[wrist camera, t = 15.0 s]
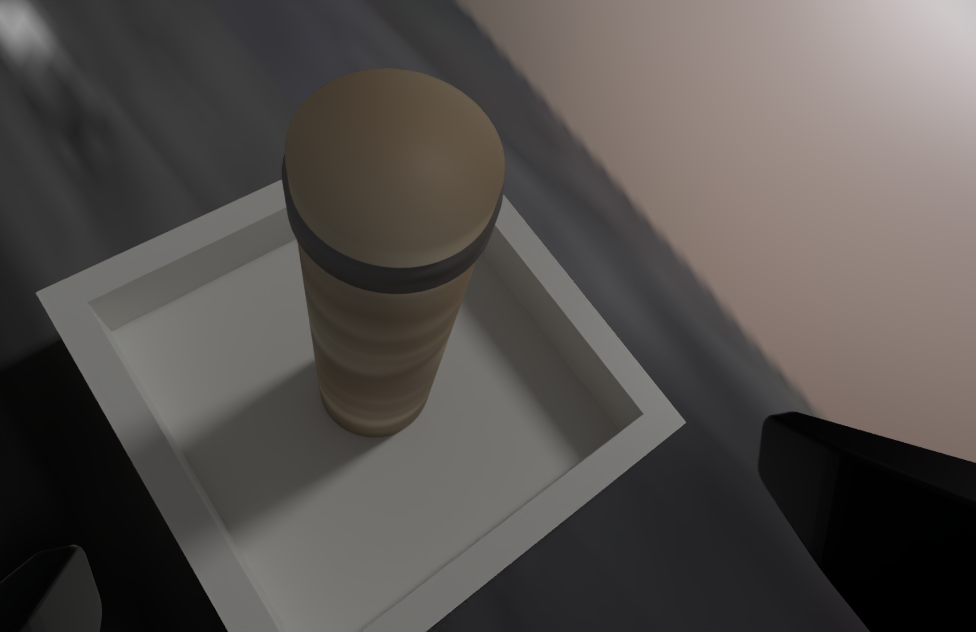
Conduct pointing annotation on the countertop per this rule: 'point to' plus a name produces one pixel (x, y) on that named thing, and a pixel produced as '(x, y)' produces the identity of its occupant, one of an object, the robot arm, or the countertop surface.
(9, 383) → the countertop surface
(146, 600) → the countertop surface
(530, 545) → the tray
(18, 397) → the countertop surface
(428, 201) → the pin
